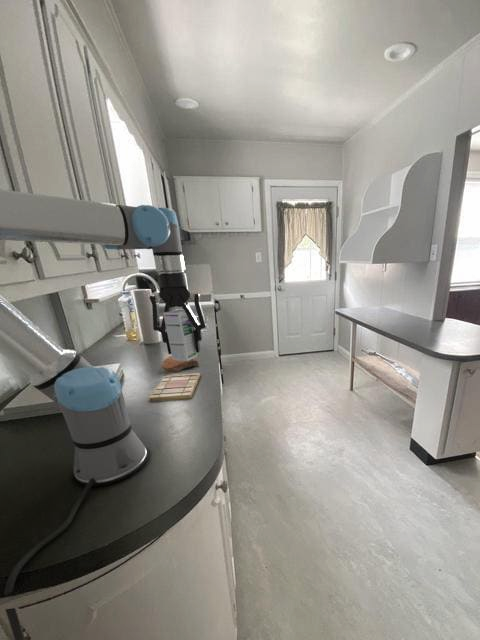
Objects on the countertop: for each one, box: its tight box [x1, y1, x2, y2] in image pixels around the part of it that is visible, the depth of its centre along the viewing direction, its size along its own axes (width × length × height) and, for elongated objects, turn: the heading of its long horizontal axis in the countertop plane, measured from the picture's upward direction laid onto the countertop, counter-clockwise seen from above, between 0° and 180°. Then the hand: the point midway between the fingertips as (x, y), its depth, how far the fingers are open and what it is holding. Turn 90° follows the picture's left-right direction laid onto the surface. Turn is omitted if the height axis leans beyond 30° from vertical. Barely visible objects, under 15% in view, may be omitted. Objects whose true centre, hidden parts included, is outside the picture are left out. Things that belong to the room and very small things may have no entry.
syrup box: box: [163, 308, 200, 361], centre depth 91 cm, size 6×6×14 cm
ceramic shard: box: [161, 355, 199, 373], centre depth 138 cm, size 15×6×15 cm
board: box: [148, 372, 201, 402], centre depth 116 cm, size 22×14×2 cm, turn 7°
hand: (184, 351), depth 93 cm, fingers closed on syrup box, 7 cm apart
